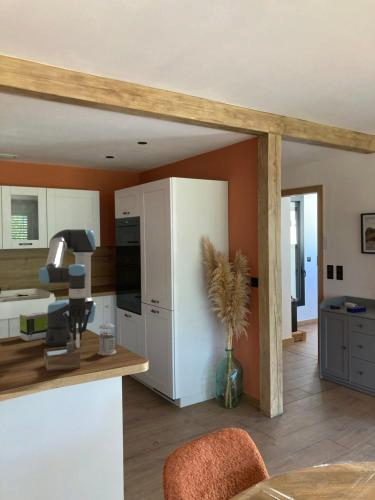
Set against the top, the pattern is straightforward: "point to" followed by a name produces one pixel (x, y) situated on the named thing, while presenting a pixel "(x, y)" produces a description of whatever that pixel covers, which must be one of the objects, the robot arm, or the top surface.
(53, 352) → the grey l-shaped block
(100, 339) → the french press
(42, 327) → the tea box
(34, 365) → the top surface
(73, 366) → the lid box
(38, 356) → the top surface
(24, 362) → the top surface
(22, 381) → the top surface
